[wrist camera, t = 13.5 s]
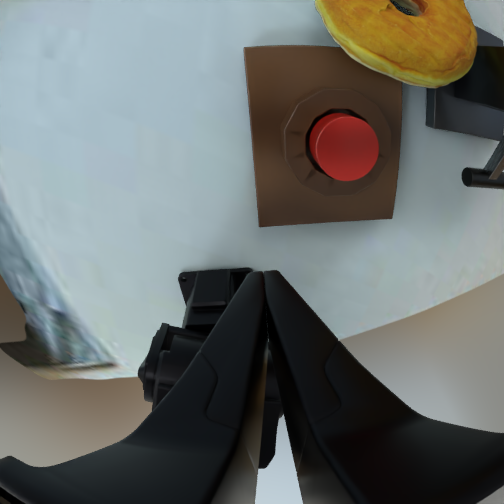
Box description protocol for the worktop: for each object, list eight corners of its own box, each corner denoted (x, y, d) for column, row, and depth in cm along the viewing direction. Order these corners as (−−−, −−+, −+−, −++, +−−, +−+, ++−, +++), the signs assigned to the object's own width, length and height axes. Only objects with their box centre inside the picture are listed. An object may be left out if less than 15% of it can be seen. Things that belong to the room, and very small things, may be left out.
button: (365, 171, 16) (377, 181, 15) (309, 172, 16) (315, 182, 15) (367, 114, 14) (380, 118, 13) (307, 112, 14) (315, 115, 13)
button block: (381, 206, 21) (403, 231, 18) (257, 214, 22) (260, 241, 18) (386, 57, 15) (415, 54, 11) (243, 51, 15) (242, 42, 12)
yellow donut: (327, -73, 7) (324, -42, 11) (304, 28, 10) (302, 60, 13) (474, -17, 6) (454, 5, 10) (492, 104, 9) (459, 116, 13)
